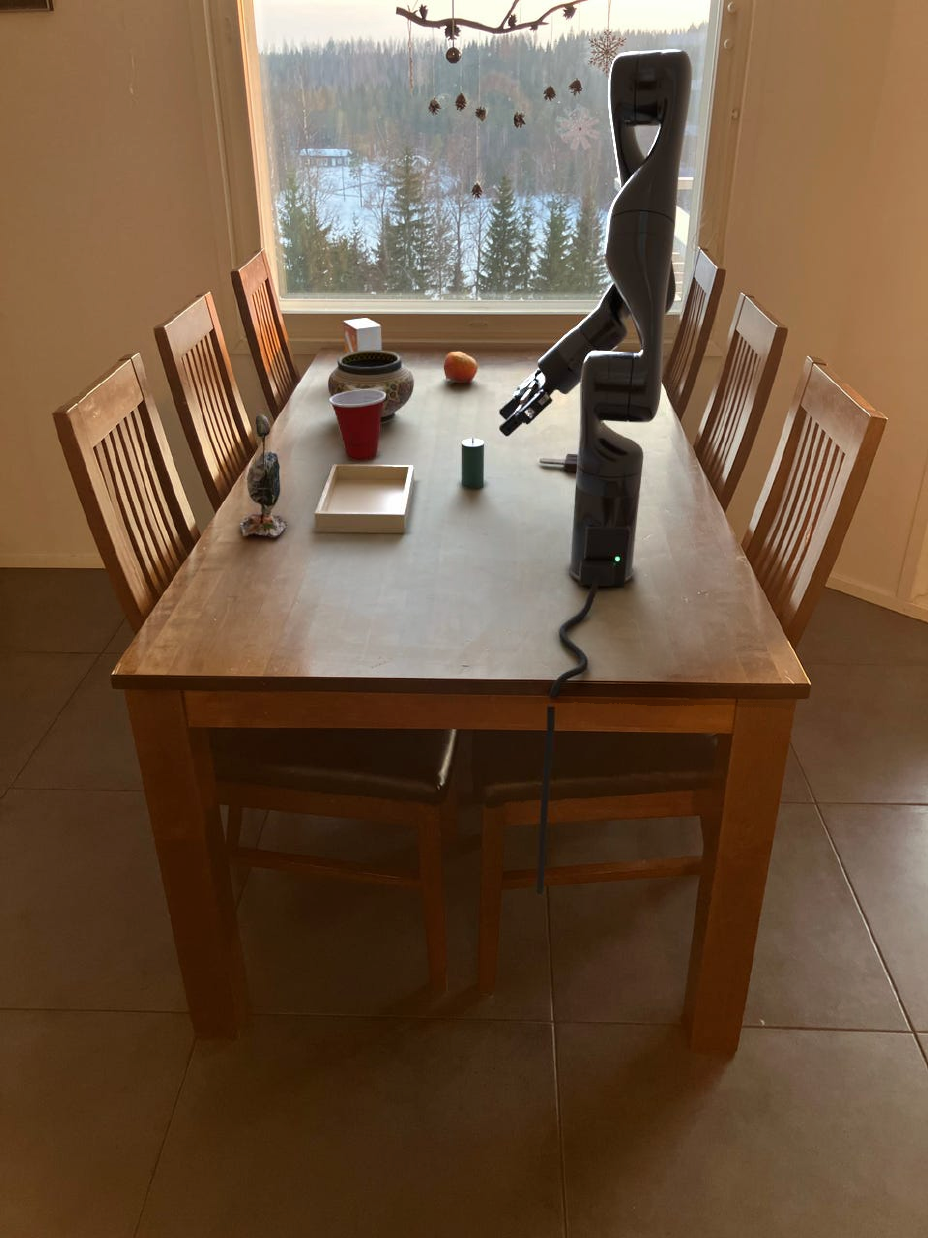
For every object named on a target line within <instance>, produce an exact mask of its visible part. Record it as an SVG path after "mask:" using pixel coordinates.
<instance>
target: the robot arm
mask: <svg viewBox="0 0 928 1238" xmlns="http://www.w3.org/2000/svg"><path fill="white" fill-rule="evenodd" d="M692 83H693V67H692V61H691V58H690V56H689V55H688V53H687V52H686V51H685V50H682V49H658V50H641V51H640V50H637V51H628V52H621V53H619V54H618V55H616V56H615V58H614V59H613V61H612V64H611V67H610V73H609V78H608V95H607V97H608V111H609V119H610V126H611V133H612V140H613V147H614V154H615V160H616V167H617V174H618V178H619V184H620V191H619V192H618V194H617V195H616V197H615V198H614V200H613V202H612V204H611V206H610V209H609V210H608V211H609V212H608V215H607V223H606V234H605V243H604V263H605V266H606V269H607V272H608V275H609V277H610V278H611V280H612V284H611V285H610V286H609V287H608V289H607V291H606V292H605V293H604V295H603V296H602V298H601V300H600V302H599V303H598V305H597V306H596V308H595V309H594V310H592V311H591V312H590V313H589V314H588V315H587V316H586V317H585V318H584V319H582V321H581V322H580V323H578V325H576V326H575V327H574V328H572V329H571V330H569V331H568V332H567V333H566V334H565V335H563V337H561V339H559V340H558V341H557V342H556V343H555V344H554V345H553V346H552V347H551V348H550V349H549V350H548V351H547V352H546V353H545V354H543V356H541V357H540V358H539V359H538V361H537V367H538V368H536V370H535V371H534V372H533V373H532V374H530V375H529V376H528V377H527V378H526V379H525V380H524V381H523V382H522V383H521V384H520V385H518V386H517V387H516V389H515V392H514V394H513V395H512V397H511V398H510V399H509V400H508V401H507V402H506V403H505V404H504V405H503V406H501V408H499V411H498V414H499V415H500V416H501V417H502V418H503V420H505V421H503V422H502V423H501V424H500V425H499V427H498V429H499V431H500V432H501V434H502V435H503V436H505V437H510V436H511V435H512V434H513V433H514V432H515V431H516V430H517V429H518V428H519V427H521V426H522V424H525V425H530V424H531V422H532V421H533V420H535V419H536V417H538V416H539V415H540V414H541V413H542V412H543V411H544V410H545V409H546V408H548V407H549V405H551V404H552V402H553V398H552V397H551V396H552V395H553V393H554V391H558V392H559V393H560V394H563V395H568V394H569V393H570V392H571V391H572V390H573V389H575V388H576V387H577V386H578V385H579V384H580V385H579V433H578V435H579V436H578V447H577V448H578V450H577V454H578V459H577V472H576V478H575V492H574V494H575V495H574V507H573V520H572V521H573V523H572V537H571V551H570V552H571V553H570V557H571V558H570V564H569V573H570V576H571V577H572V578H573V579H574V580H576V581H578V582H579V585H582V587H590V589H589V593H588V595H587V598H586V601H585V603H584V605H583V607H582V608H581V610H580V612H578V613H577V614H576V615H575V616H573V617H572V618H570V619H568V620H567V621H565V622H564V623H563V624H562V625H561V626H560V628H559V631H558V637H559V639H560V641H561V642H562V644H563V645H564V647H566V648H567V649H568V650H570V651H571V653H573V654H574V655H575V656H577V658H578V659H579V665H578V666H577V667H574V668H572V669H569V670H567V671H565V672H564V673H562V674H561V675H560V676H558V677H557V678H556V680H555V681H554V682H553V684H552V686H551V689H550V691H549V695H548V696H549V698H551V699H555V698H557V696H558V693H559V691H560V689H561V687H562V686H563V684H564V683H565V682H567V680H570V679H571V678H573V677H576V676H578V675H581V674H582V673H584V672H585V671H586V669H587V668H588V665H589V664H588V662H589V661H588V657H587V655H586V653H584V651H583V650H582V649H581V648H579V647H578V646H577V645H576V644H575V643H573V641H571V640H570V638H569V637H568V635H567V631H568V630H569V629H570V628H571V627H572V626H574V625H576V624H577V623H578V622H580V621H582V620H583V619H584V618H585V617H586V616H587V614H588V613H589V612H590V611H591V608H592V605H593V603H594V600H595V598H596V595H597V592H598V588H599V587H606V588H607V587H608V588H609V587H610V588H613V587H614V588H623V587H625V586H626V583H627V582H629V581H630V580H631V579H632V577H633V572H634V571H633V570H634V569H633V564H634V555H635V543H636V534H637V533H636V532H637V523H638V512H639V505H640V503H639V502H640V493H641V486H642V485H641V484H642V476H643V475H642V473H643V465H644V464H643V463H644V450H643V448H642V446H641V445H640V444H639V443H637V442H636V441H635V440H633V439H630V438H628V437H626V436H624V435H622V434H621V433H618V432H616V431H615V430H613V429H612V428H610V427H609V426H608V425H607V424H606V423H605V421H606V422H621V423H635V424H636V423H638V424H640V423H641V424H642V423H643V424H645V423H650V422H652V421H653V420H654V419H655V417H656V415H657V414H658V410H659V408H660V402H661V394H662V384H663V365H664V364H663V363H664V362H663V361H664V344H665V343H664V341H665V340H664V339H665V321H666V318H665V317H666V315H667V314H668V313H669V312H670V310H671V308H672V307H673V305H674V302H675V299H676V294H677V291H676V290H677V288H676V287H677V286H676V285H677V284H676V276H675V271H674V264H673V253H674V251H673V250H674V241H675V231H676V219H677V203H678V202H677V201H678V189H679V188H678V187H679V176H680V175H679V174H680V166H681V158H682V152H683V145H684V140H685V139H684V138H685V132H686V127H687V119H688V114H689V108H690V100H691V93H692ZM657 126H658V127H659V129H658V131H657V134H656V136H655V138H654V142H653V144H652V146H651V148H650V150H649V152H648V153H647V155H646V157H645V155H644V154H643V152H642V150H641V148H640V145H639V142H638V139H637V135H636V127H657ZM629 317H631V318H632V321H633V323H634V326H635V330H636V333H637V336H638V342H639V347H640V348H639V349H640V351H639V352H628V351H614V350H615V349H616V348H617V347H618V346H619V345H620V344H621V343H622V342H623V341H624V340H625V339H626V338H627V336H628V335H629V327H628V320H629ZM526 411H527V413H526ZM555 711H556V707H555V706H547V707H546V734H545V744H544V745H545V746H544V758H543V770H542V784H541V799H540V817H539V819H540V820H539V836H538V837H539V838H538V855H537V856H538V858H537V874H536V875H537V876H536V894H538V895H542V894H543V893H544V884H545V869H546V852H547V849H546V848H547V833H548V815H549V799H550V787H551V786H550V785H551V772H552V762H553V761H552V760H553V748H554V738H555V723H556V722H555V720H556V717H555V713H556V712H555Z"/></svg>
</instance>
